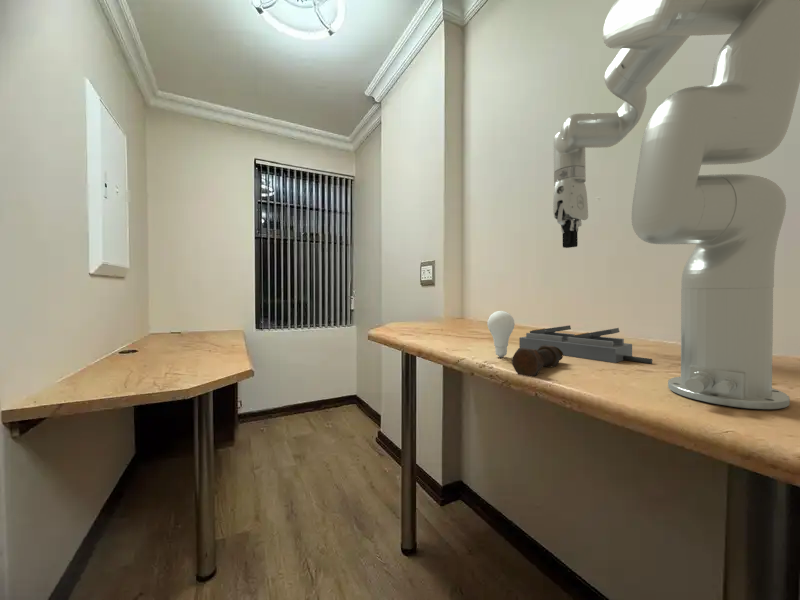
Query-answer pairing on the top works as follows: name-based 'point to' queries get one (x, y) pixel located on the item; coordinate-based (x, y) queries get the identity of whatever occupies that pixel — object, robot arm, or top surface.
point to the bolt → (535, 359)
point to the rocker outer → (550, 330)
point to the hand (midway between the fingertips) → (570, 247)
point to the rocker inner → (596, 333)
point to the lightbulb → (501, 330)
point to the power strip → (584, 346)
